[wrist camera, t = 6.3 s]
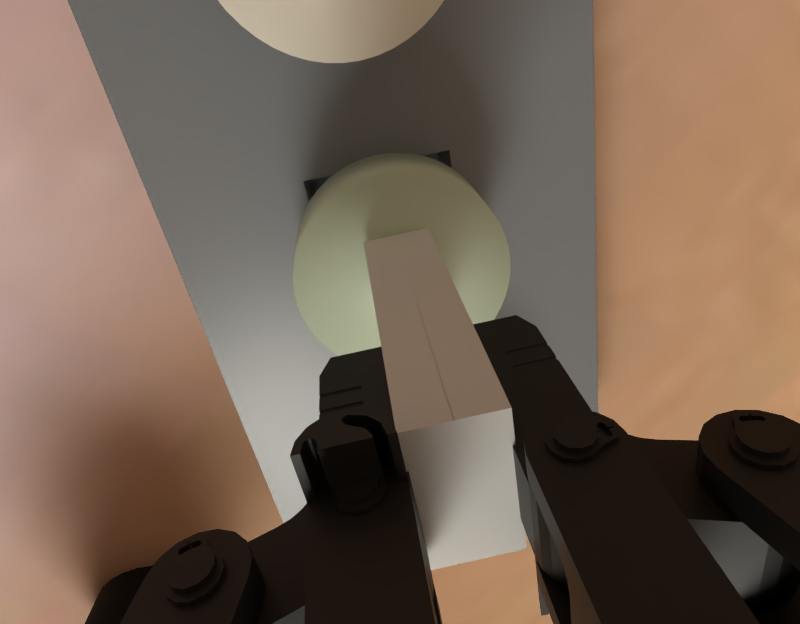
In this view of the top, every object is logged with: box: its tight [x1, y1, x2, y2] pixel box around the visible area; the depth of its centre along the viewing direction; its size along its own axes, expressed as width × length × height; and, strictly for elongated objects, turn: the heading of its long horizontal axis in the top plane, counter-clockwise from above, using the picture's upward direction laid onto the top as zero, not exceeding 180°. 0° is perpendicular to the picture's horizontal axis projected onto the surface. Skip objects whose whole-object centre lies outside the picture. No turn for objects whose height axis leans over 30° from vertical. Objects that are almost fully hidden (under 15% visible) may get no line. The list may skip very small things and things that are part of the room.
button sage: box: [293, 153, 511, 356], centre depth 16 cm, size 5×5×4 cm
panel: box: [68, 0, 598, 523], centre depth 18 cm, size 23×12×3 cm, turn 10°
